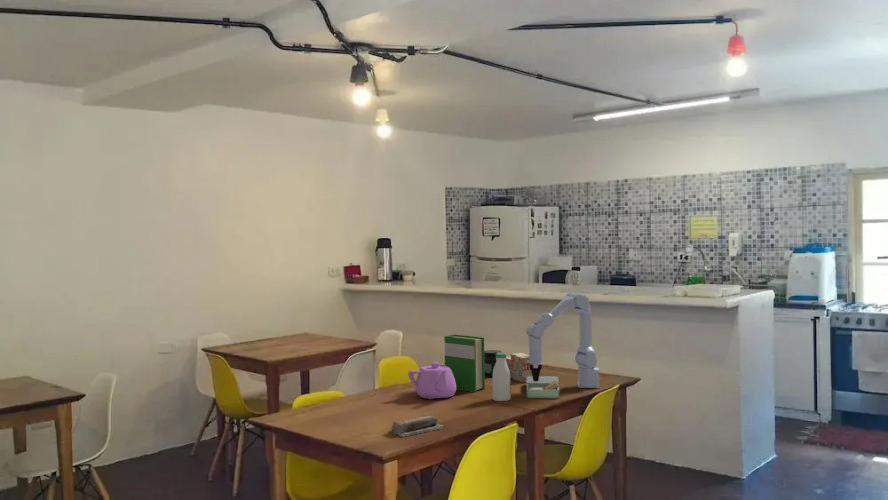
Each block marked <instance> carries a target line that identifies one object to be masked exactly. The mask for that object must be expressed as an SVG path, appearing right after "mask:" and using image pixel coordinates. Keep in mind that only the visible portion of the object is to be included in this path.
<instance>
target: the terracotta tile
mask: <svg viewBox="0 0 888 500" xmlns="http://www.w3.org/2000/svg"><path fill="white" fill-rule="evenodd" d="M557 387H559V388H560V385H559V386H558V383H557V381H556V380H555V381H553V382H552V383H550V384H548V385H547V386H545V387H544V388H545V390H554V389H555V388H557Z"/></svg>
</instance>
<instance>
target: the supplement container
mask: <svg viewBox="0 0 888 500" xmlns="http://www.w3.org/2000/svg"><path fill="white" fill-rule="evenodd" d="M496 353H503V352H502V351H501V350H498V349H487V350H484V360H485V377H488V378H491V377H492V378H493V369H494V366H495V364H496Z"/></svg>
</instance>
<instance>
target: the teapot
mask: <svg viewBox="0 0 888 500" xmlns="http://www.w3.org/2000/svg"><path fill="white" fill-rule="evenodd" d="M416 374H417V375H416ZM407 375H408V378H409V380H410V381H411V383H412V384H413V385H414V387H415V389H414V390H415V391H416V393H417V395H418V396H419V397H420V398H423V399H427V400H434V399H442V398H443V399H449V397H453V396H454V395H455V394H456V392H457V389H456V382H455V378H454V376H453V373H452V371H451V369H450V368H449V367H448V366H445V364H444V365H442V364H440V362H438V361H434V362H431V365H425V366H420V368H419V370H414V369H413V370H409V371H408V373H407ZM414 375H416V378H415V377H414Z"/></svg>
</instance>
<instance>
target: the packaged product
mask: <svg viewBox="0 0 888 500" xmlns="http://www.w3.org/2000/svg"><path fill="white" fill-rule="evenodd" d="M441 428H443V429H444V425H443V424H438V417H437V416H435V415H424V416H418V417H411V418H405V419H401V420H395V421H393V422H392V425H391V429H388V432H389V431H390V432H389V433H391V432H393V433H395V434H394V435H396V434H398V435H400V436H399V437H401V436H402V437H401V438H406V437H405V436H408V437H411V436H410V435H412V436H415V435H414V434H417V435H420V434H419V433H422V434H425V433H424V432H427V433H429V432H428V431H431V432H433V431H432V430H436V431H438V430H437V429H440V430H442V429H441ZM393 433H392V434H393ZM398 435H397V436H398Z"/></svg>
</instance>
